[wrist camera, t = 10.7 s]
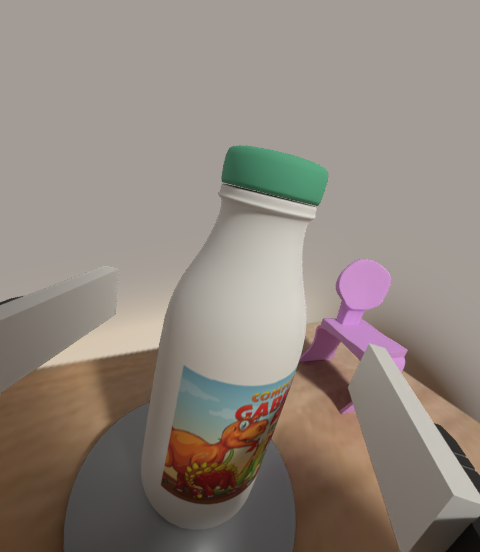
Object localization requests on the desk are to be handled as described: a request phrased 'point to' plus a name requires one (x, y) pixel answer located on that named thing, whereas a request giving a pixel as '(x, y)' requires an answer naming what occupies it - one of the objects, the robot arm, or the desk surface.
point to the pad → (145, 519)
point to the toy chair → (355, 317)
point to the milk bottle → (231, 342)
